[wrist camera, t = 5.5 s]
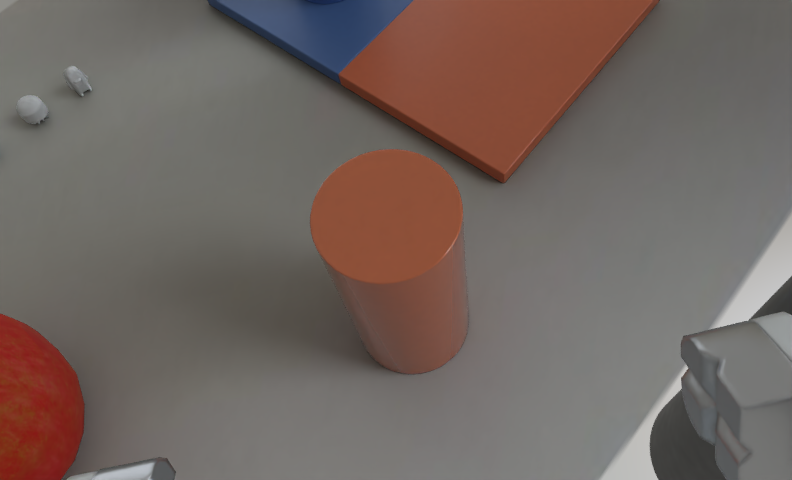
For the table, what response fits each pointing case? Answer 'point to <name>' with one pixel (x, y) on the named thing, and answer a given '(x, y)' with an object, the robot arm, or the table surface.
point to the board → (455, 61)
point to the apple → (36, 406)
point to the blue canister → (324, 1)
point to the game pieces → (37, 110)
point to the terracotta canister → (396, 256)
